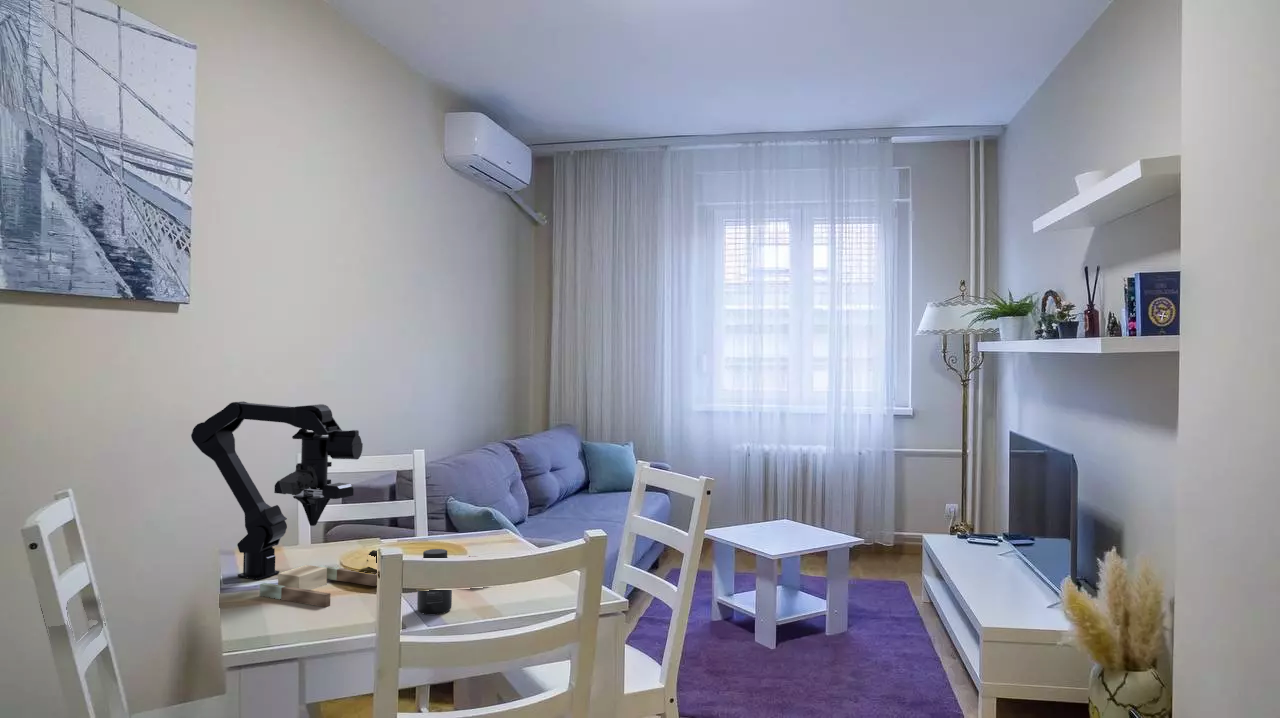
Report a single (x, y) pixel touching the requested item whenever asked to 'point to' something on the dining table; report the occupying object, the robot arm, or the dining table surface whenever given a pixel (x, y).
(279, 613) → the dining table surface
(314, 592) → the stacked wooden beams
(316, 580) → the light wood block
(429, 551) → the supplement bottle
